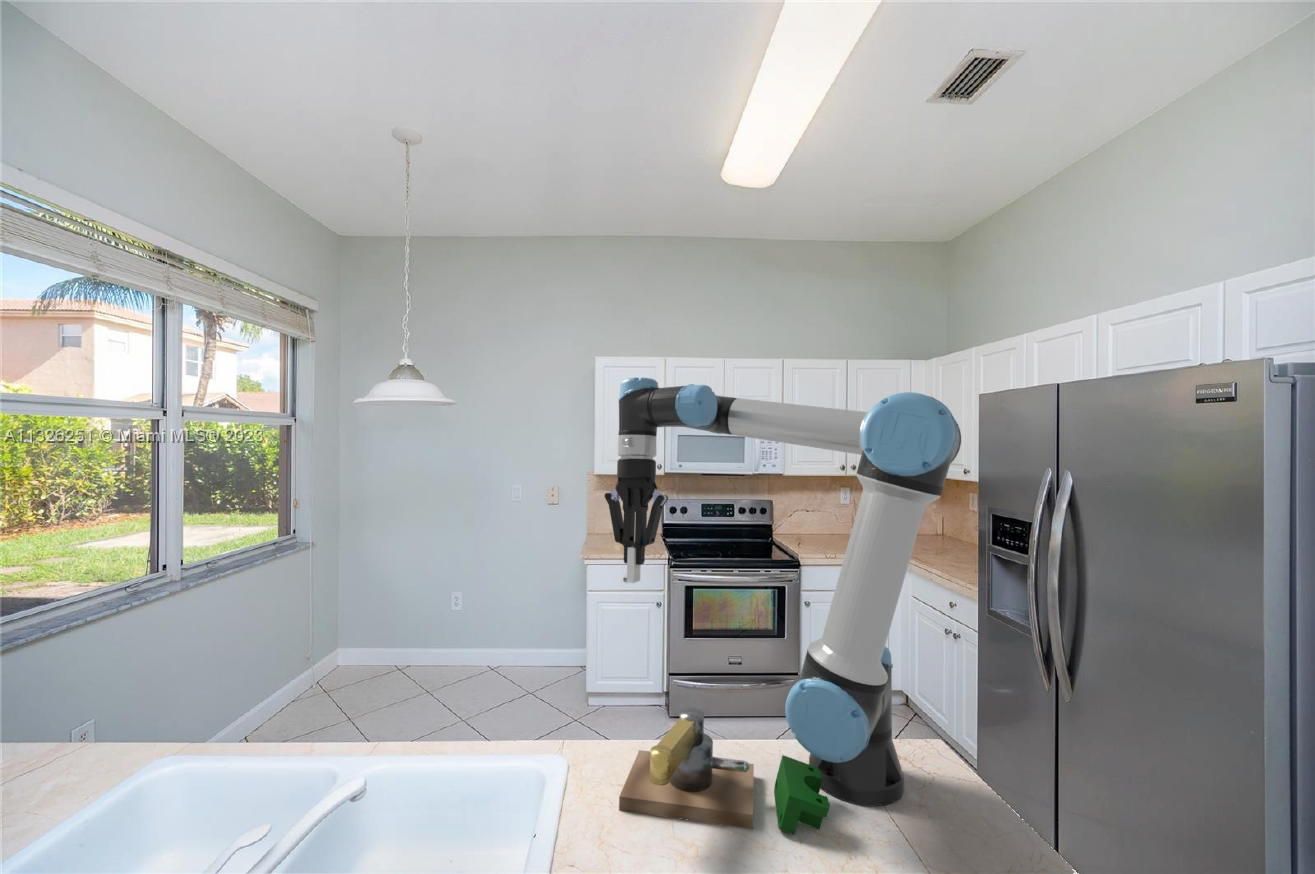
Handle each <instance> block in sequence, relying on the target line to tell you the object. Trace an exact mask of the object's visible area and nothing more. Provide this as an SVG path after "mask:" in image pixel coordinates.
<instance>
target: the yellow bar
mask: <svg viewBox="0 0 1315 874" xmlns="http://www.w3.org/2000/svg"><path fill="white" fill-rule="evenodd" d="M678 713H679V714H678V715H679V716H678V717H679V719H678V720H677V721H676V723H674V725H673V726H672V727H671V728H670V730H668V732H666V734H665V735H664V736H663V737H662V738H661V740H660V741H659V742H658V743H657V744H656V745H654V746H652V747H651V748H650V752H651V755H650V782H651V783H652V784H654V785H658V786H663V785H666V784H668V783H669V782H670V777H671V776H672V774H673V773H674V772H675V770H676V769H677V767H678V766H679V765H680V763H681V762H682V761H683V759H684V758H685V757H686V755H687V754H688V752H689V751H690V750H691V748H692V747H693V746H694V745H697V744H700V743H702V742H703V740H704V732H705V731H704V729H705V727H704V726H705V712H704V711H703V710H701V709H699V708H695V707H686V708H682V709H681V710H680V711H679V712H678Z"/></svg>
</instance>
